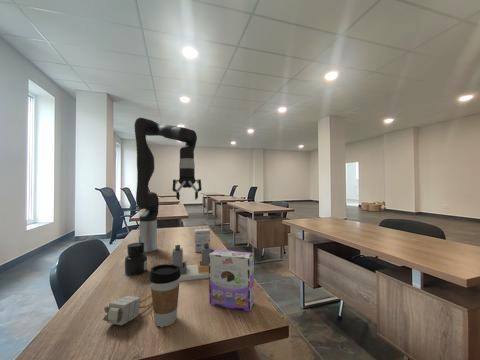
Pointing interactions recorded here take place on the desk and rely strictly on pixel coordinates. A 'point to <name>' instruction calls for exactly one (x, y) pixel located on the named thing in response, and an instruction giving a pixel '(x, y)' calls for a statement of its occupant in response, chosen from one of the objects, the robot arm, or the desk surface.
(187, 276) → the dock
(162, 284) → the coffee cup
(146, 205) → the robot arm
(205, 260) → the plug
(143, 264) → the ink bottle
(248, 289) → the candy box
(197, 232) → the ink box
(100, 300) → the desk surface
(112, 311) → the electrical component
